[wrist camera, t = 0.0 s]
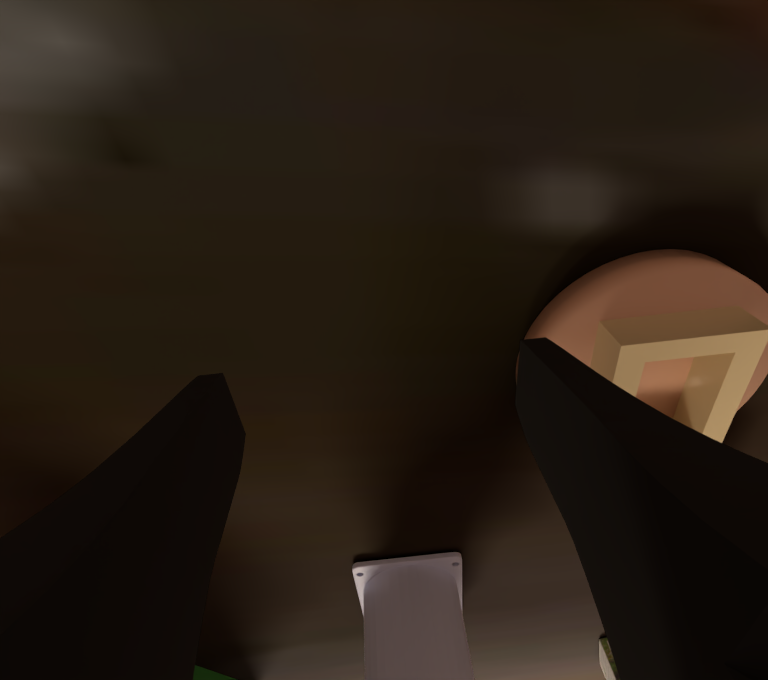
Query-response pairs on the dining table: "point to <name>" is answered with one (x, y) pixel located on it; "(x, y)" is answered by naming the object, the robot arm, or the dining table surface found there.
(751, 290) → the tan rounded piece
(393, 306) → the dining table surface
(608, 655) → the syrup box
